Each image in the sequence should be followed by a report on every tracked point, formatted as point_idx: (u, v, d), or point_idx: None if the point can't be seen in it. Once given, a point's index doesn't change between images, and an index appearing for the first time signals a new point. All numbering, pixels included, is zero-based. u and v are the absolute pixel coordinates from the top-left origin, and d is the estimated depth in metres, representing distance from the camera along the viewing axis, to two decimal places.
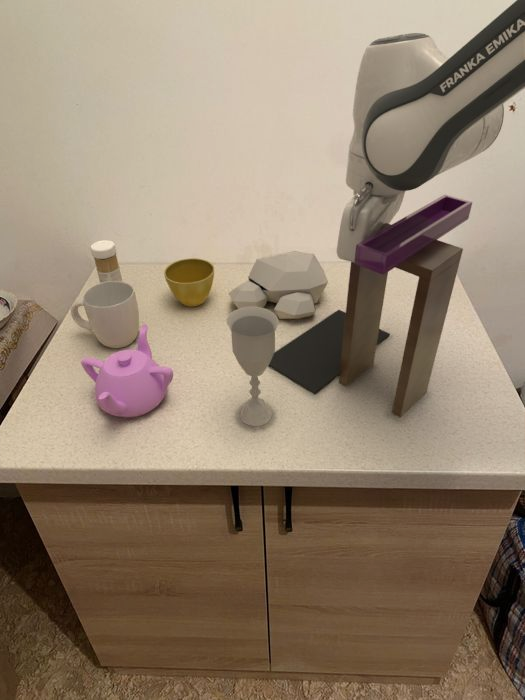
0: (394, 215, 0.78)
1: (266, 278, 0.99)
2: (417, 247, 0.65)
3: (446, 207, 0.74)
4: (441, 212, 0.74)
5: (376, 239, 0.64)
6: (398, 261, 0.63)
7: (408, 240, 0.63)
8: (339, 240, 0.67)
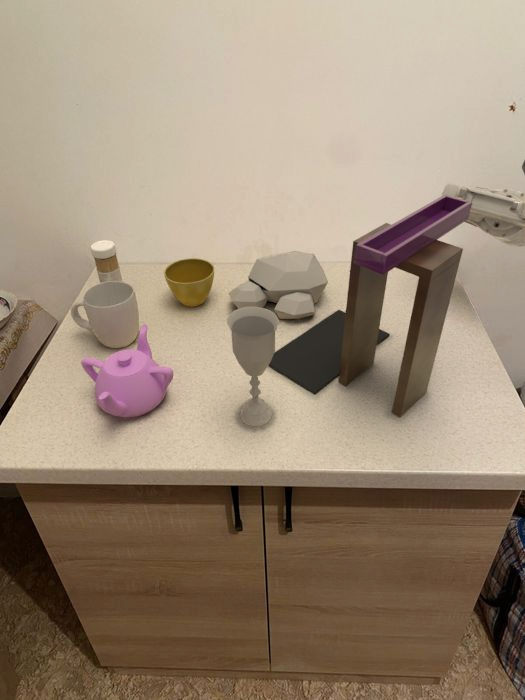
0: None
1: (266, 278, 0.99)
2: (417, 247, 0.65)
3: (446, 207, 0.74)
4: (441, 212, 0.74)
5: (376, 239, 0.64)
6: (398, 261, 0.63)
7: (408, 240, 0.63)
8: None
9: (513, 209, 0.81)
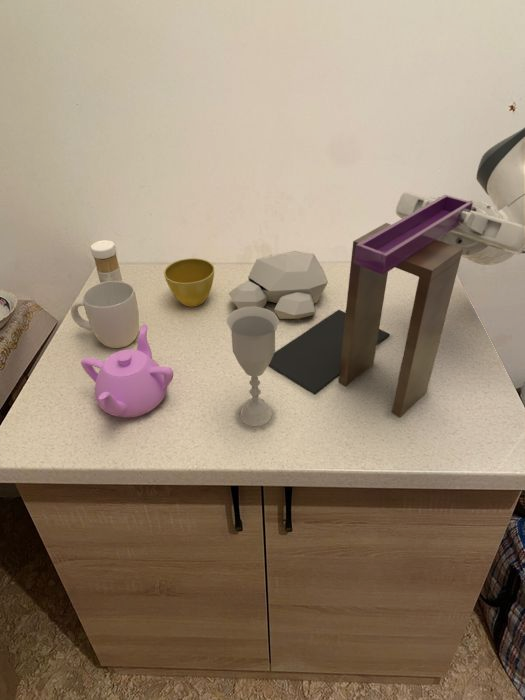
0: None
1: (266, 278, 0.99)
2: (417, 247, 0.65)
3: (446, 207, 0.74)
4: (441, 212, 0.74)
5: (375, 239, 0.64)
6: (398, 261, 0.63)
7: (408, 240, 0.63)
8: None
9: (460, 221, 0.70)
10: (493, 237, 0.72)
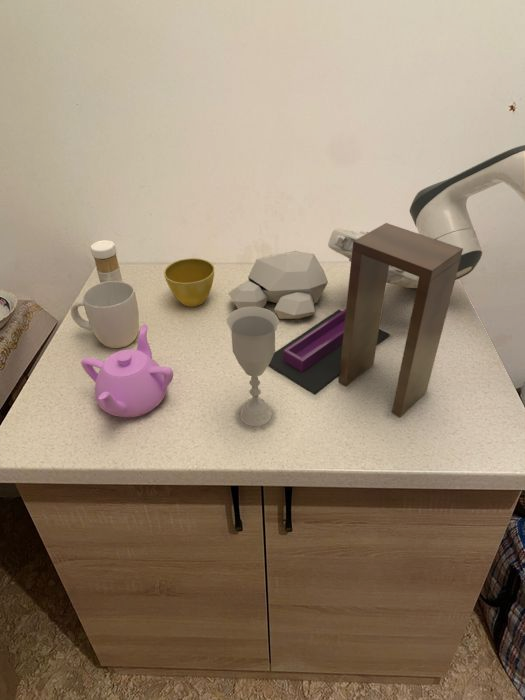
0: (341, 252, 0.93)
1: (266, 278, 0.99)
2: (330, 349, 0.90)
3: None
4: None
5: (299, 343, 0.89)
6: (314, 361, 0.87)
7: (321, 346, 0.88)
8: None
9: None
10: (403, 271, 0.86)
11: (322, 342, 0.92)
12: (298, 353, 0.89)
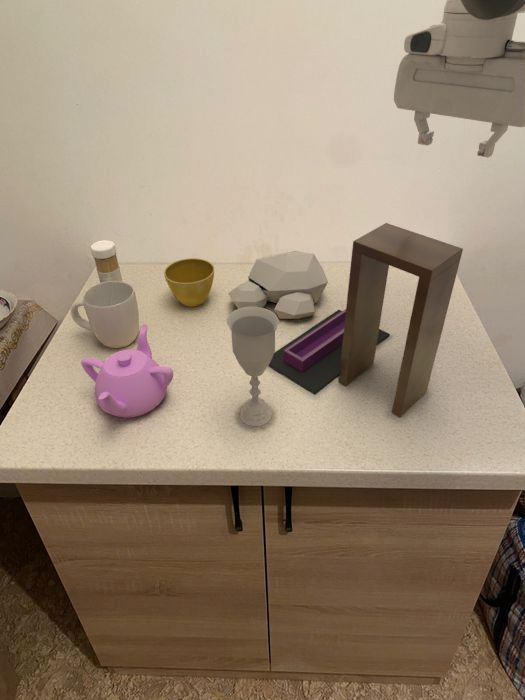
0: None
1: (266, 278, 0.99)
2: (330, 349, 0.90)
3: None
4: None
5: (299, 343, 0.89)
6: (314, 361, 0.87)
7: (321, 346, 0.88)
8: None
9: None
10: None
11: (322, 342, 0.92)
12: (298, 353, 0.89)
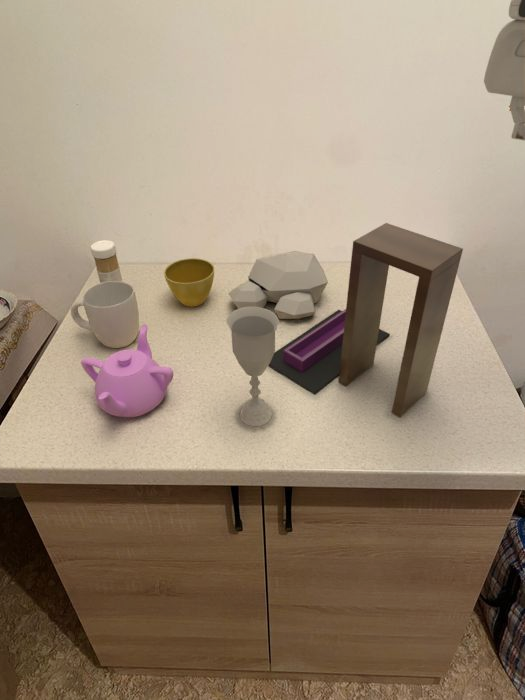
0: None
1: (266, 278, 0.99)
2: (330, 349, 0.90)
3: None
4: None
5: (299, 343, 0.89)
6: (314, 361, 0.87)
7: (321, 346, 0.88)
8: None
9: None
10: None
11: (322, 342, 0.92)
12: (298, 353, 0.89)
